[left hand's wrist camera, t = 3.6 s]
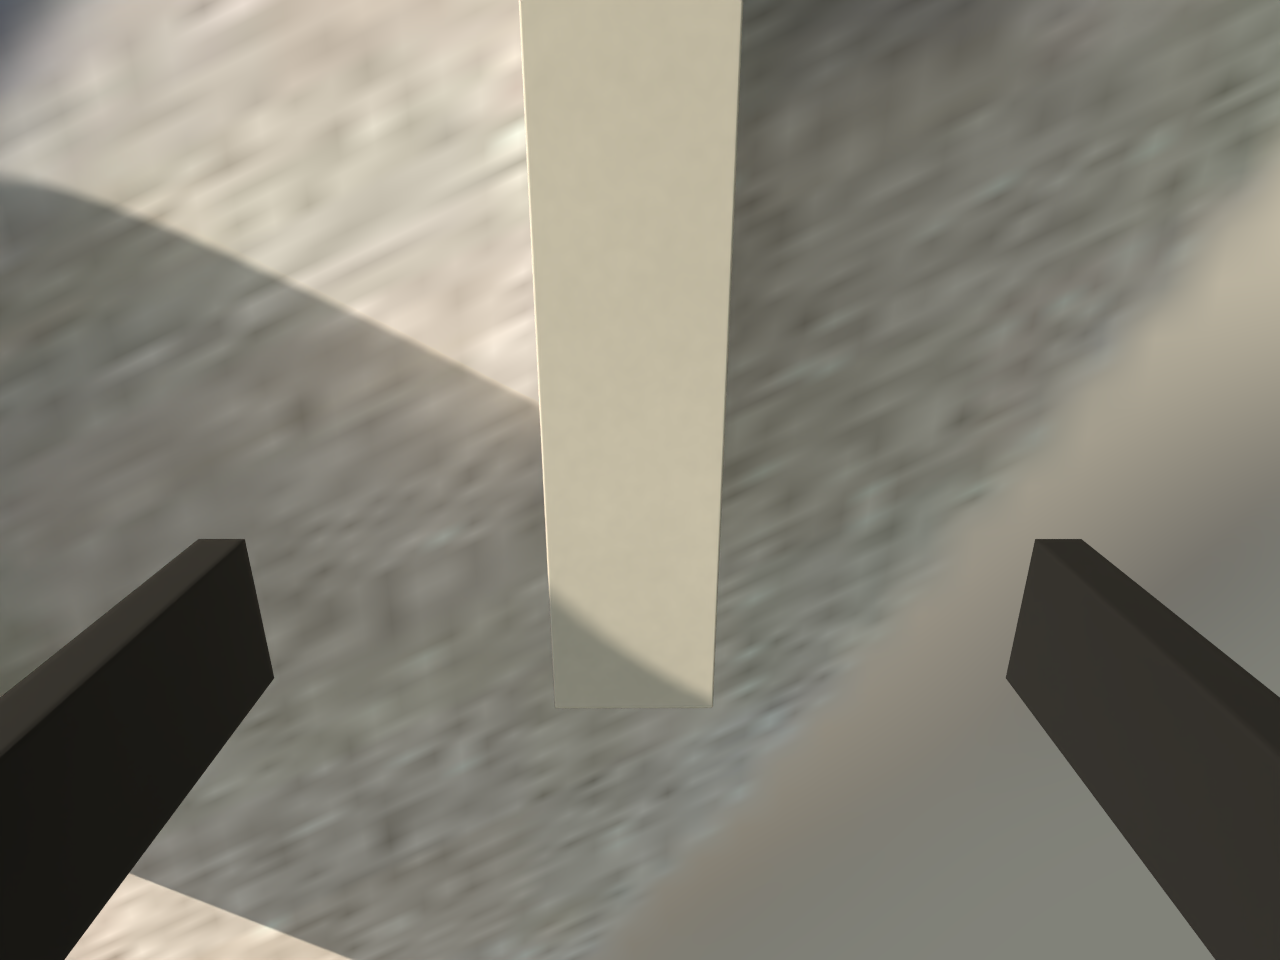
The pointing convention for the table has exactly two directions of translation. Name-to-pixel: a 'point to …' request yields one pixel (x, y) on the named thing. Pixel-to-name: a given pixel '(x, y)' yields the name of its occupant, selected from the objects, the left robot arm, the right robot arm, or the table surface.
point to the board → (632, 333)
